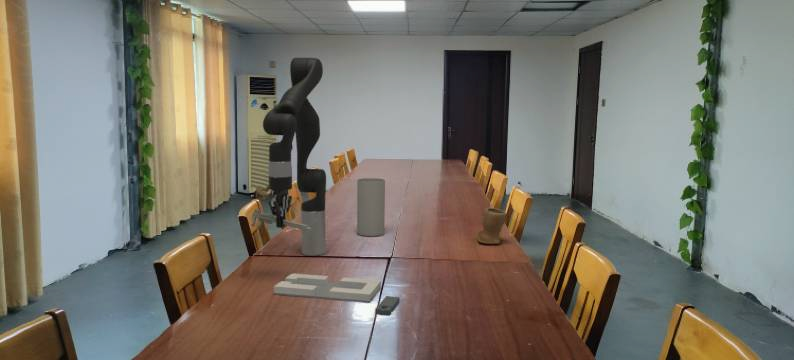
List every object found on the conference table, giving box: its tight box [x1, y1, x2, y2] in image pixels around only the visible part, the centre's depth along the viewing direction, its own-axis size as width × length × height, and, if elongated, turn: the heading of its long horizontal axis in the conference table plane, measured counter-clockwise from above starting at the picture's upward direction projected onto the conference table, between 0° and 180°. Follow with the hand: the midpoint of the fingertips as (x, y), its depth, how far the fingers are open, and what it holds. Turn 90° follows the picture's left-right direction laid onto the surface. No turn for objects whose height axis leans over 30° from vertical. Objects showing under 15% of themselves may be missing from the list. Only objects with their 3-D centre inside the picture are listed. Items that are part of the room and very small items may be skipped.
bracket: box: [374, 295, 401, 317], centre depth 156 cm, size 4×11×2 cm, turn 165°
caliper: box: [251, 208, 311, 231], centre depth 181 cm, size 21×1×6 cm, turn 77°
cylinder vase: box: [356, 177, 386, 238], centre depth 249 cm, size 12×12×25 cm
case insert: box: [273, 272, 382, 304], centre depth 170 cm, size 14×30×2 cm, turn 78°
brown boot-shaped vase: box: [475, 207, 507, 245], centre depth 238 cm, size 15×12×15 cm
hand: (280, 226), depth 182 cm, fingers closed on caliper, 1 cm apart
